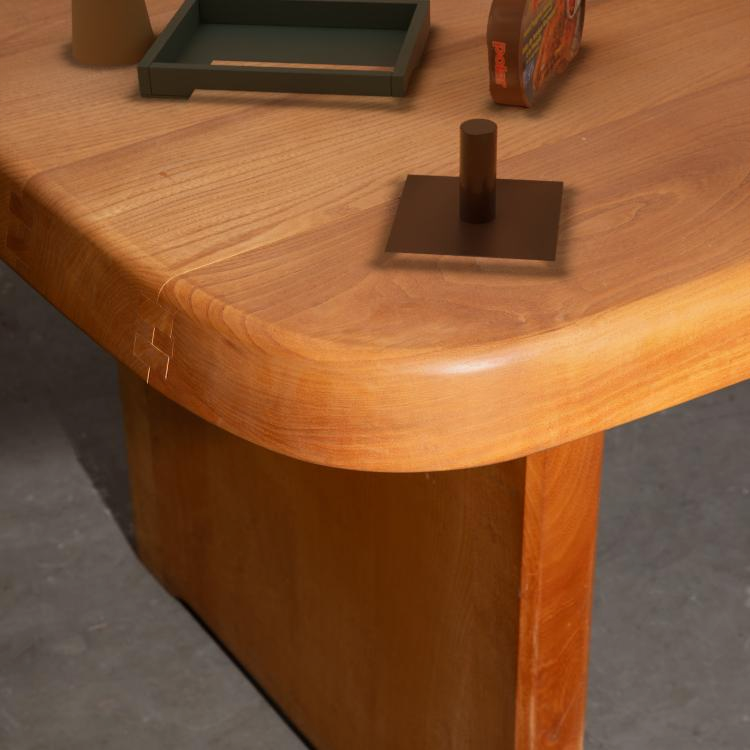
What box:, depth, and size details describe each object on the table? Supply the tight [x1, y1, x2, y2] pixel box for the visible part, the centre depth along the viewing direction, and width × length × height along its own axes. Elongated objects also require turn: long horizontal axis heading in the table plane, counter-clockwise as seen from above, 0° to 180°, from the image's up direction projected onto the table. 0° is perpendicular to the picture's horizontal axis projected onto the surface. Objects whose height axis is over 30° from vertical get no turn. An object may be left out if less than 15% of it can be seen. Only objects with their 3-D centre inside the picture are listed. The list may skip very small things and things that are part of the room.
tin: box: [485, 0, 587, 109], centre depth 95 cm, size 15×3×8 cm, turn 158°
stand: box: [384, 118, 565, 262], centre depth 79 cm, size 9×9×6 cm
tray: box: [136, 0, 431, 100], centre depth 100 cm, size 18×14×3 cm
